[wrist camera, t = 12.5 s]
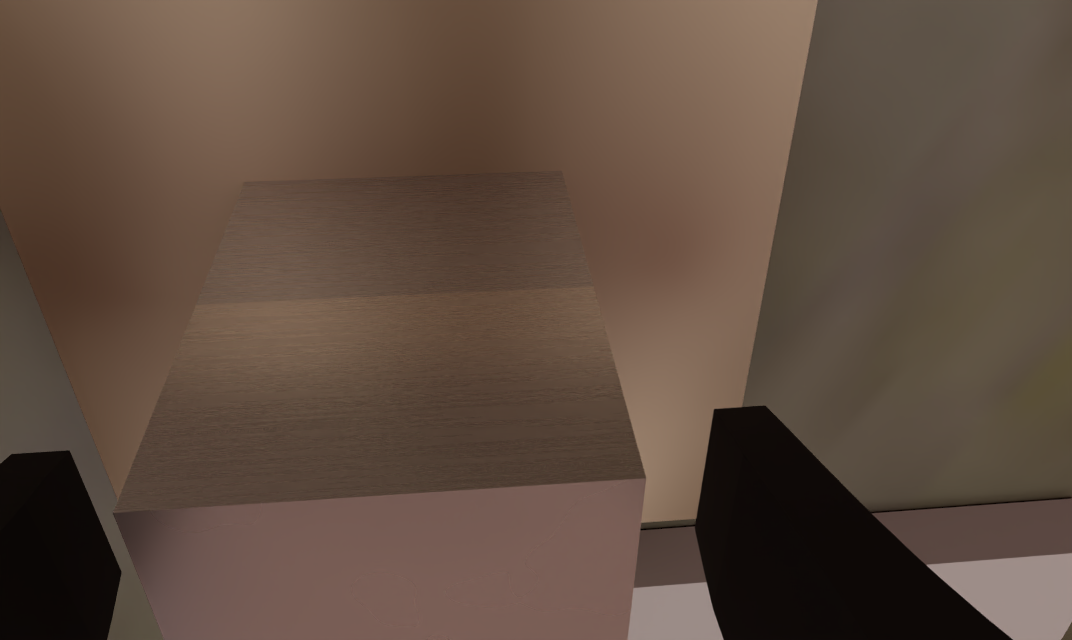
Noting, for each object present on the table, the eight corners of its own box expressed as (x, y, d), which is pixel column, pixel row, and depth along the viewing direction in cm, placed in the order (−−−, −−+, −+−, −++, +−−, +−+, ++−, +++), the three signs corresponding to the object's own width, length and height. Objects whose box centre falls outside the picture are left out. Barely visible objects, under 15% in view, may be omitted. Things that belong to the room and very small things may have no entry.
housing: (294, 420, 14) (222, 785, 10) (243, 181, 12) (112, 512, 7) (555, 405, 15) (614, 749, 10) (562, 170, 12) (647, 478, 7)
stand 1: (162, 498, 17) (141, 559, 16) (-56, -109, 11) (-119, -86, 10) (702, 462, 18) (720, 517, 17) (794, -119, 12) (836, -100, 10)
